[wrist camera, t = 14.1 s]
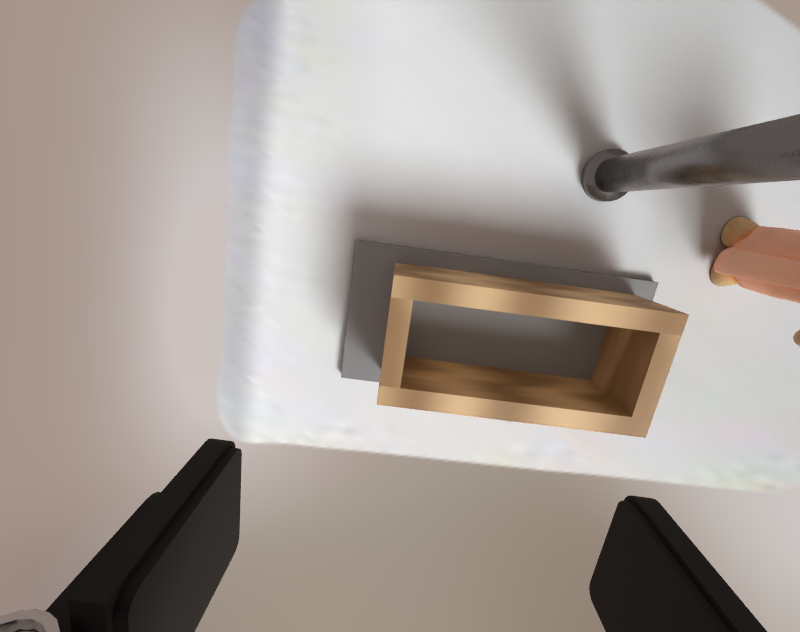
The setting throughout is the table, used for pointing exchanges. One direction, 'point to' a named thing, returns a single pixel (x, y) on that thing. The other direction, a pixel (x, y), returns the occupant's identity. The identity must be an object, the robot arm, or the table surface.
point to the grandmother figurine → (760, 260)
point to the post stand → (700, 161)
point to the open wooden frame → (525, 391)
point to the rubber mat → (471, 318)
